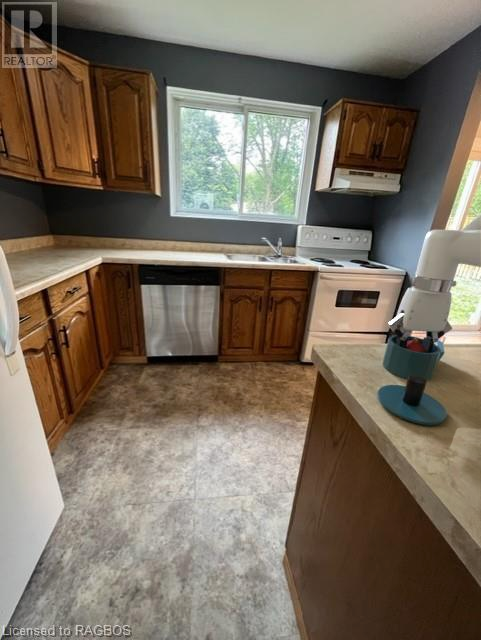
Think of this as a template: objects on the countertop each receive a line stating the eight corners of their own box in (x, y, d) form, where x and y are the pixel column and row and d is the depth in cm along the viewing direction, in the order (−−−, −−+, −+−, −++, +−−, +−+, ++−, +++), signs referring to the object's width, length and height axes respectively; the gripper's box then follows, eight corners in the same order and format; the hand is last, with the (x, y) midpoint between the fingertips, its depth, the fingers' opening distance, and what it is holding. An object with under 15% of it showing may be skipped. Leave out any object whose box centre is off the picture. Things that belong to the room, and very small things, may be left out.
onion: (399, 358, 75) (406, 331, 72) (423, 366, 71) (432, 338, 69) (392, 365, 71) (400, 337, 69) (417, 374, 68) (426, 345, 65)
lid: (421, 390, 63) (429, 365, 60) (460, 429, 51) (472, 399, 49) (367, 387, 63) (373, 362, 60) (393, 425, 51) (402, 395, 49)
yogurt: (425, 356, 81) (437, 339, 78) (430, 359, 80) (442, 342, 77) (424, 369, 71) (438, 350, 68) (430, 372, 70) (444, 353, 68)
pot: (415, 360, 77) (423, 336, 74) (442, 382, 66) (452, 355, 64) (375, 357, 77) (381, 333, 75) (395, 380, 66) (403, 352, 64)
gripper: (457, 283, 67) (436, 348, 73) (387, 279, 68) (372, 345, 74) (481, 290, 60) (455, 362, 66) (403, 286, 60) (385, 358, 67)
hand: (411, 352), depth 70 cm, fingers closed on onion, 5 cm apart
